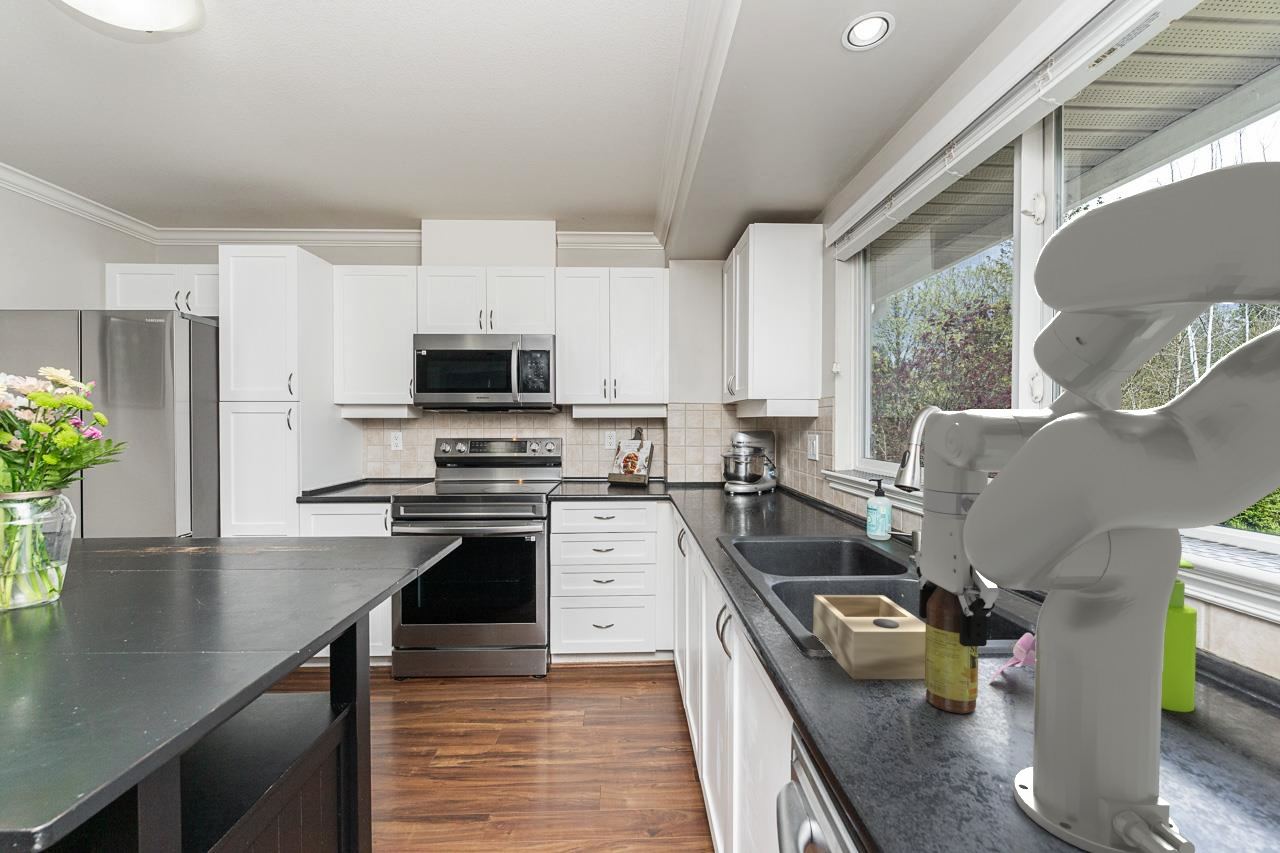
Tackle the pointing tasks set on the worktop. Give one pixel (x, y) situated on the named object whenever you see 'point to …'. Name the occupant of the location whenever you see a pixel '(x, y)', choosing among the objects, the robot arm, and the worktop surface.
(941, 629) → the sauce bottle
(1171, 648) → the soap dispenser
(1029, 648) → the lily
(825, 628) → the caddy
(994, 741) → the worktop surface
